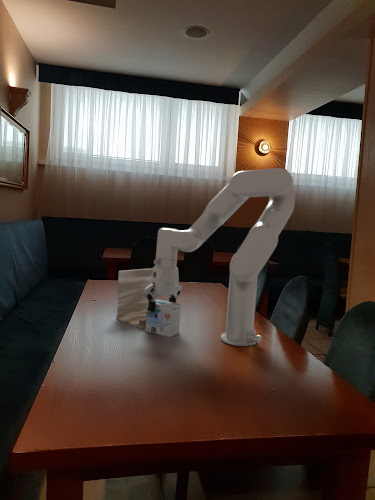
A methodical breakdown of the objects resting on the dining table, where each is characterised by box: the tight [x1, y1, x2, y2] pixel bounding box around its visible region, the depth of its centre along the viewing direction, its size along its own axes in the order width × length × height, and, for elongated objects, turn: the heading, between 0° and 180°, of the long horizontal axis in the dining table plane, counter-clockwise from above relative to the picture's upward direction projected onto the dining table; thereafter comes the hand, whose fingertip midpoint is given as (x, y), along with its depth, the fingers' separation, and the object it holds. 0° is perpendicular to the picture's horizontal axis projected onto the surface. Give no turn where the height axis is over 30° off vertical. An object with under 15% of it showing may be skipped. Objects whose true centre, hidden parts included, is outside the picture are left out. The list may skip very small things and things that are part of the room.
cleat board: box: [116, 267, 154, 330], centre depth 151 cm, size 16×18×19 cm
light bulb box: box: [145, 298, 182, 338], centre depth 138 cm, size 11×7×11 cm, turn 62°
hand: (161, 310), depth 138 cm, fingers open, 9 cm apart
